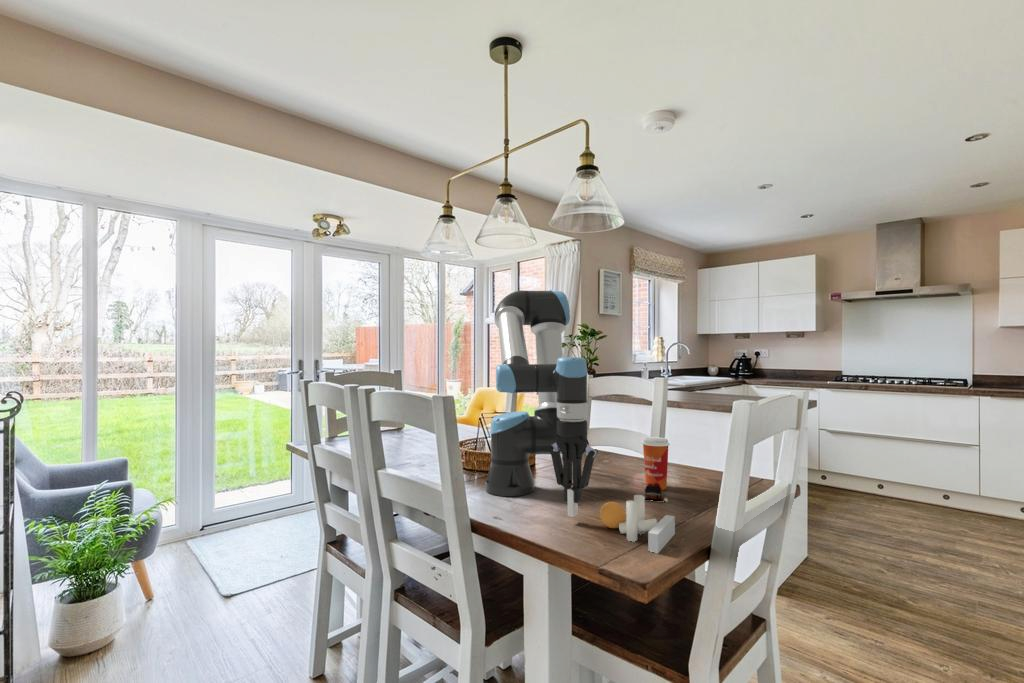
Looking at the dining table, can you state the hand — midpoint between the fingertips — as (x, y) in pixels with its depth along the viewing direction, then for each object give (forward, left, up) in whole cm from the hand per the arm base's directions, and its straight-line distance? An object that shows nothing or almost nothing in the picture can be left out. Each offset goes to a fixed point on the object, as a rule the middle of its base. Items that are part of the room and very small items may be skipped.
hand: (572, 514), depth 118 cm
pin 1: (+16, -2, -2) cm, 16 cm away
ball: (+9, +2, +1) cm, 10 cm away
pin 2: (+16, +2, -2) cm, 16 cm away
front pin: (+12, 0, -1) cm, 13 cm away
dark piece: (+11, +30, -3) cm, 32 cm away
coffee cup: (+8, +41, -2) cm, 42 cm away
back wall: (+22, 0, -2) cm, 22 cm away
